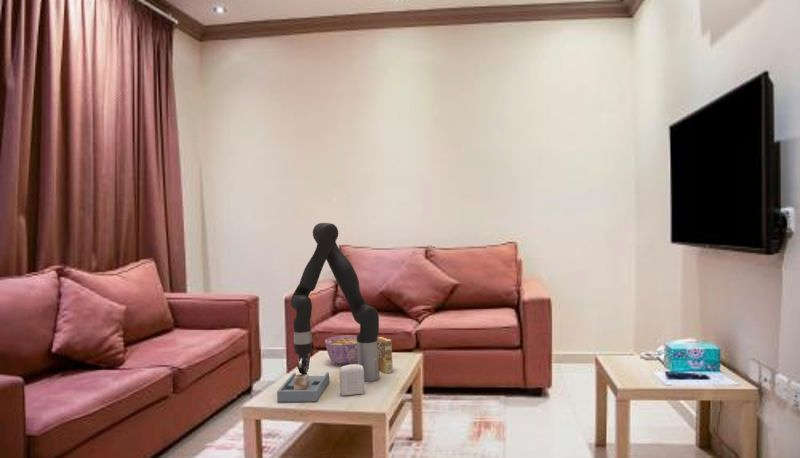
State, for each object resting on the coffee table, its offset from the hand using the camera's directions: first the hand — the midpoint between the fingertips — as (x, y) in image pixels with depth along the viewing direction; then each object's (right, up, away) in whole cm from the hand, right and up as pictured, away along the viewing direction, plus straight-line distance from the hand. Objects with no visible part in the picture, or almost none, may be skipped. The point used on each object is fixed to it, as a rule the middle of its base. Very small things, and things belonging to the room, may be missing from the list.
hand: (304, 381), depth 249 cm
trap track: (0, -4, -1) cm, 4 cm away
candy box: (+33, -2, +27) cm, 43 cm away
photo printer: (+21, -4, -5) cm, 22 cm away
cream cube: (0, -1, -5) cm, 5 cm away
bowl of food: (+13, -2, +43) cm, 45 cm away
